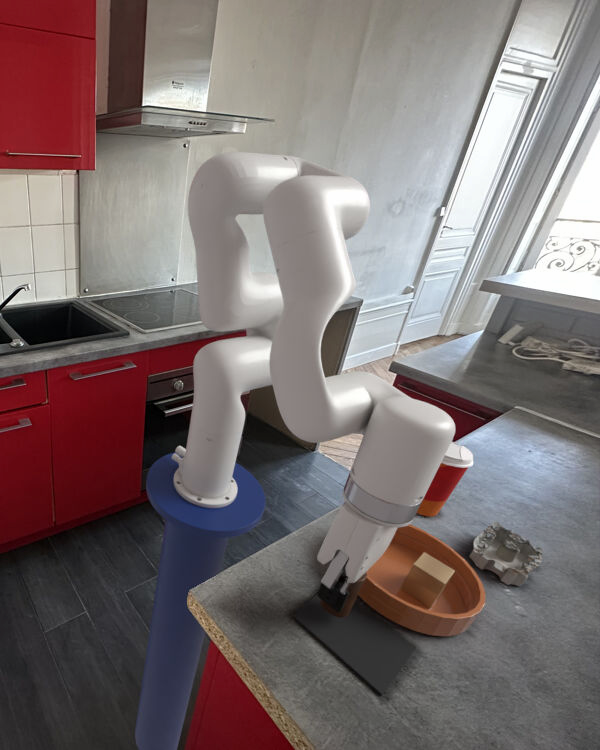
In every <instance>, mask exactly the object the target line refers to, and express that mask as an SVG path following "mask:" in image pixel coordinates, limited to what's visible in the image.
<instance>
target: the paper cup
mask: <svg viewBox="0 0 600 750" xmlns="http://www.w3.org/2000/svg"><path fill="white" fill-rule="evenodd" d="M473 465H474V454H473V452H471V450H470V449H469V448H468V447H466V446H465V445H460V444H459V443H457V442H454V441H452V442H451V444H450V446H449V448H448V450H447V452H446V454H445V456H444V458H443V460H442V462H441V464H440V466H439V468H438V470H437V472H436V474H435V476H434V478H433V480H432V482H431V484H430V486H429V488H428V490H427V492H426V494H425V496H424V498H423V500H422V502H421V504H420V506H419V509H418V511H417V513H416V514H418V515H421V516H424V517H427V518H428V517H430V518H431V517H435V516H437V515H439V512H440V511H441V510H442V508H443V507H444V505H445V504H446V503H447V501H448V499H449V498H450V497H451V495H452V493H453V492H454V490H455V489H456V487H457V486H458V484H459V482H460V481H461V480H462V478H463V476H464V475H465V474H466V471H467V470H468V469H469V468H470V467H473Z"/></svg>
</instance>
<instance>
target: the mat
mask: <svg viewBox="0 0 600 750" xmlns="http://www.w3.org/2000/svg"><path fill="white" fill-rule="evenodd" d="M292 618H293V619H294V620H295V621H296V622H297V623H299V624H300V625H301V626H302V627H303V628H304V629H305V630H307V632H308V633H310V634H311V635H312V636H313V637H314V638H316V640H318V641H319V642H320V643H321V644H322V645H323V646H324V647H326V648H327V649H328V650H329V651H330V652H331V653H332V654H334V655H335V656H336V657H337V659H339V660H340V661H341V662H343V664H345V665H346V666H347V667H348V668H349V669H350V670H351V671H353V672H354V674H356V675H357V676H358V677H359V678H360V679H362V680H363V681H364V682H365V683H366V684H367V685H368V686H370V688H371V689H372V690H374V692H376V693H377V694H378V695H379V696H381V697H382V696H383V695H384V694H385V692H386V691H387V690H388V688H389V687H390V685H391V684H392V682H393V681H394V679H395V678H396V677H397V676H398V674H399V673H400V671H401V670H402V668H403V667H404V666H405V665H406V663H407V662H408V660H409V659H410V657H411V656H412V655H413V654H414V652H415V650H416V649H417V647H416V646H414V645H413V644H412V643H411V642H409V641H408V640H407V639H406V638H405V637H403V636H402V635H401V634H399V633H398V632H397V631H396V630H394V629H393V628H391V627H390V626H388V625H387V624H386V623H385V622H383V621H382V620H381V619H380V618H378V617H377V616H376V615H374V614H373V613H372V612H371V611H369V610H368V609H366V608H365V607H364V606H362V605H361V604H360V603H359V602H357V601H356V600H355V602H354V604H353V607H352V609H351V611H350V613H349V615H348V616H346V617H343V618H340V617H335V616H333V615H331V614H329V613H328V612H327V611H325V610H324V609H323V607H322V606H321V604H320V602H319V597H318V596H317V593H316V594H315V595H314V596H313V597H311V598H310V599H309V600H308V601H307V602H306V603H305V604H304V605H303V606H302V607H301V608H300V609H299V610H298V611H297V612H296V613H294V615H293V616H292Z"/></svg>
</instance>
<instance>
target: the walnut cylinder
mask: <svg viewBox="0 0 600 750" xmlns="http://www.w3.org/2000/svg"><path fill="white" fill-rule="evenodd" d="M345 579H346V578H345V577H344V576H342V575H340V577H339V578H338V580H339V581H341V582H342V583H344V581H345ZM365 579H366V572H365V573H364V574H363V575H362V576H361V577H360V578H359V579H358V580H357V581H356V582H354V583H351V584H350V586H349V588H348V591H349V592H350V593H349V595H348V598H347V600H346V602H345V604H344V606H343V609H342V610H341V612H339V613H338V612H336V611H335V610H334V609H332V608H331V607H330V606H329V605H327V604H326V603H325V602H324V601H322V600H321V599H320V598H319V602H320V604H321V606H322V607H323V609H324V610H325V611H327V612H328V613H329V614H331V615H333V616H335V617H340V618H343V617H346V616H348V615H349V613H350V611H351V609H352V607H353V604H354V602H355V601H356V600H357V598H358V597H359V596H358V594H359V591H360V589H361V587H362V585H363V583H364V581H365Z"/></svg>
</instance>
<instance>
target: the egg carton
mask: <svg viewBox="0 0 600 750" xmlns="http://www.w3.org/2000/svg"><path fill="white" fill-rule="evenodd" d="M543 552H544V551H543V548H541V547H536V546H534V545H532V543H531V541H530V539H525V538H523V537H522V536H521V535H520V534H517V533H516V532H515V531H513V530H512V529H508V528H506V527H505V526H503V524H501V523H500V522H498V521H497V520H494V521H493V522H491V524H490V525H489V526H487V527H486V528H485V529H484V530H483V531H481V533H479V534H478V535H477V536H476V537H475V538H474V539H473V549H472V551H471V552H470V554H469V557H468V558H470V559H471V560H472V561H473V562H474V564H475V566H476V567H477V568H479V569H480V570H488V571H491V572H492V573H495V574H496V575H497V576H498V577H499V579H500V581H501V582H502V583H504V584H505V585H507V586H509V585H514V586H517V587H521V586H522V585H523V584H525V582H527V579H528V578H529V575H530V573H531V572H532V571H533V570H536V569H537V568H538V567H539V566H541V564H542V561H543V554H544V553H543Z"/></svg>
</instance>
